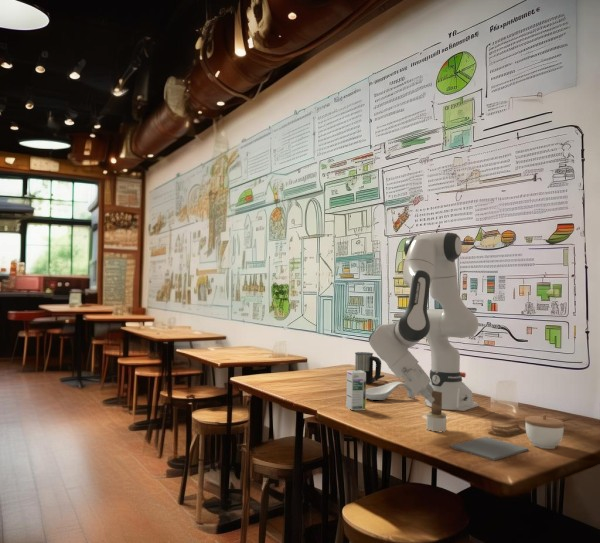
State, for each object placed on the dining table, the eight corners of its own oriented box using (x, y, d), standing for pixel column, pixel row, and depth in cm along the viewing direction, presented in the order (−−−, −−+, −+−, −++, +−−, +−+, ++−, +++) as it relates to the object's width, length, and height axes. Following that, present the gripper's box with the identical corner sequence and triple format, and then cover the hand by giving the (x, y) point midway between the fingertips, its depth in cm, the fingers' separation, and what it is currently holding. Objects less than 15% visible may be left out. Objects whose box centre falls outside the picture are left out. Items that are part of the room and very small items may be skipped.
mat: (485, 438, 163) (485, 436, 163) (528, 450, 152) (528, 448, 152) (450, 447, 152) (450, 445, 152) (493, 460, 141) (493, 458, 141)
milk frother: (352, 383, 259) (353, 353, 260) (358, 378, 274) (359, 350, 275) (380, 385, 255) (381, 355, 255) (385, 380, 270) (386, 352, 271)
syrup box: (351, 411, 195) (352, 372, 196) (345, 407, 201) (346, 369, 202) (365, 410, 197) (366, 371, 198) (359, 407, 203) (360, 369, 203)
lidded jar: (552, 441, 163) (552, 411, 163) (571, 451, 152) (571, 419, 153) (518, 440, 163) (518, 410, 163) (535, 450, 152) (535, 418, 152)
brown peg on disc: (434, 413, 176) (435, 389, 177) (450, 416, 171) (450, 393, 172) (422, 415, 173) (423, 391, 173) (438, 419, 168) (438, 394, 168)
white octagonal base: (434, 426, 176) (434, 413, 176) (449, 430, 171) (449, 416, 172) (422, 428, 172) (423, 415, 173) (437, 433, 168) (438, 419, 168)
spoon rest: (370, 403, 212) (371, 385, 212) (356, 397, 223) (357, 380, 223) (419, 401, 221) (420, 384, 221) (404, 395, 232) (404, 379, 232)
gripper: (408, 363, 166) (439, 398, 162) (415, 357, 185) (443, 388, 181) (393, 376, 167) (424, 411, 163) (402, 369, 186) (430, 399, 183)
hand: (434, 398), depth 172 cm, fingers open, 8 cm apart
